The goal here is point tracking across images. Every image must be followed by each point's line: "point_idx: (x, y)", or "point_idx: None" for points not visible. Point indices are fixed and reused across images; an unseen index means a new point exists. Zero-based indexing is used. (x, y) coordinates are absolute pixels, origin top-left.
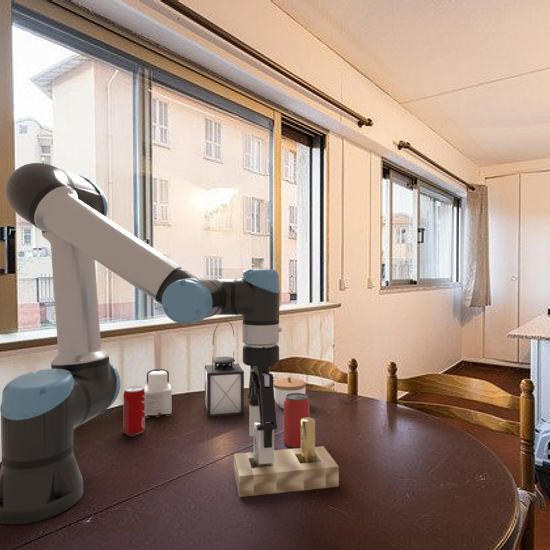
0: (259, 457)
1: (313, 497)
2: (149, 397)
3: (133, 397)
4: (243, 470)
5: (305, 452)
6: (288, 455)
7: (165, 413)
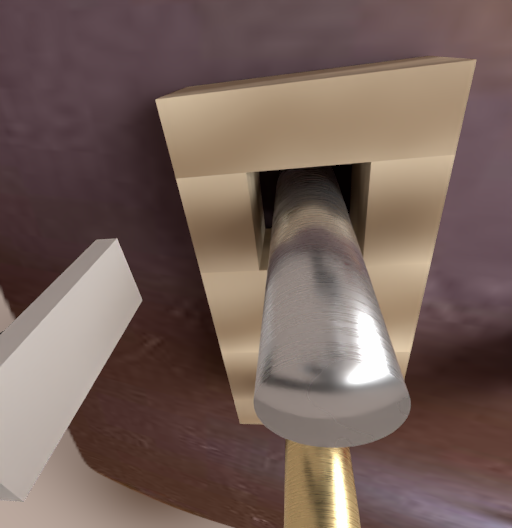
0: (100, 254)
1: (195, 317)
2: None
3: None
4: (221, 126)
5: None
6: None
7: None
